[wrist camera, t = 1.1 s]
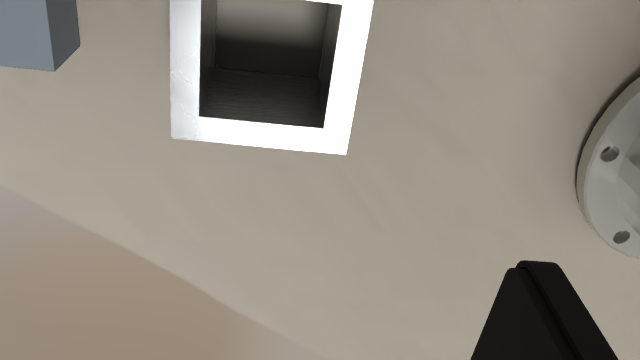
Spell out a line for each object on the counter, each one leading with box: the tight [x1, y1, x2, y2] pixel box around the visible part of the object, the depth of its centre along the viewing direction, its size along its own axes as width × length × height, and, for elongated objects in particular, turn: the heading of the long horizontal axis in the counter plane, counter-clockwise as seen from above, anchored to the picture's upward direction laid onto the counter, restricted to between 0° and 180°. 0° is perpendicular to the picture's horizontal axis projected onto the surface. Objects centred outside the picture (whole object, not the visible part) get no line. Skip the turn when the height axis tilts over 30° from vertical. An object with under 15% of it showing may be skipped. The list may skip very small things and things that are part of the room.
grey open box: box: [170, 0, 374, 155], centre depth 21 cm, size 7×7×5 cm
